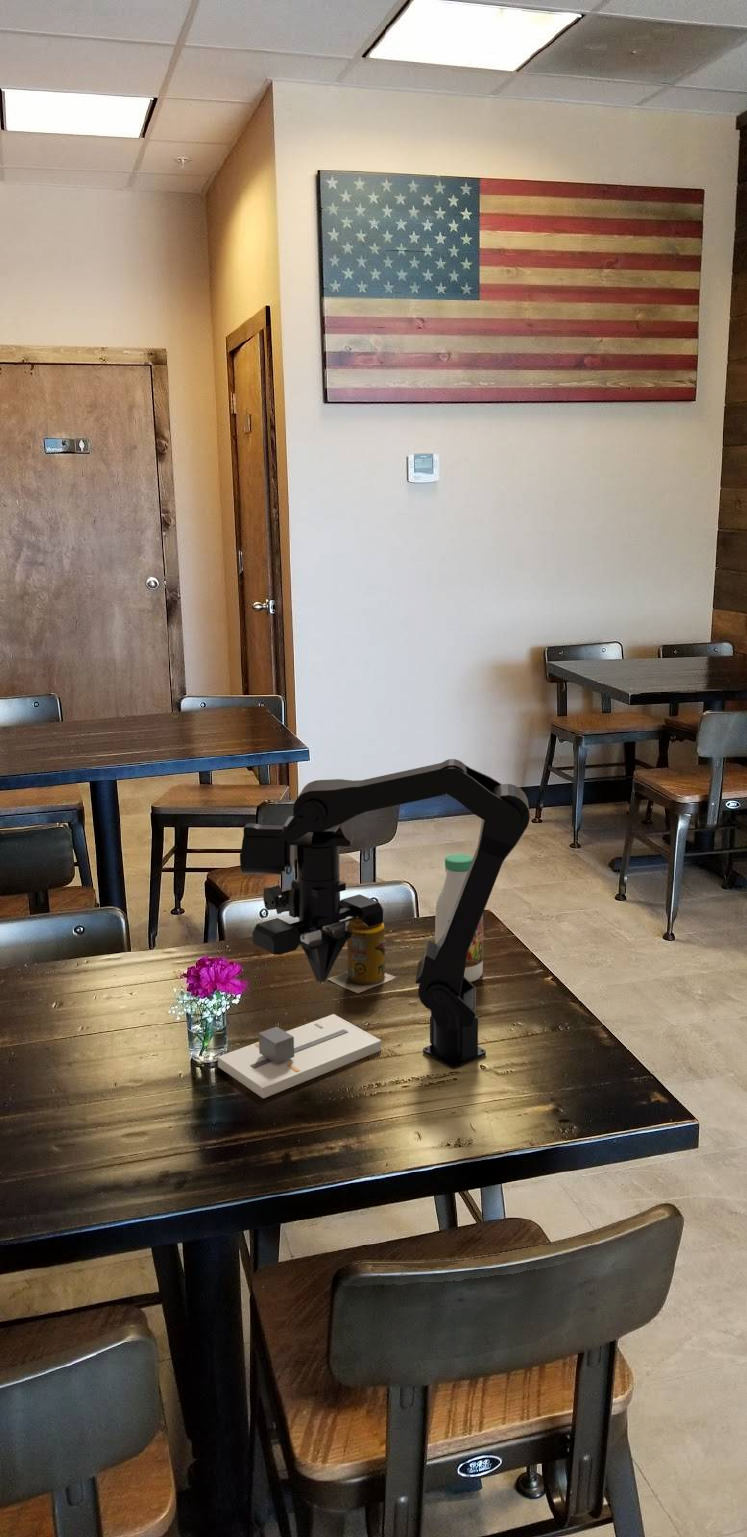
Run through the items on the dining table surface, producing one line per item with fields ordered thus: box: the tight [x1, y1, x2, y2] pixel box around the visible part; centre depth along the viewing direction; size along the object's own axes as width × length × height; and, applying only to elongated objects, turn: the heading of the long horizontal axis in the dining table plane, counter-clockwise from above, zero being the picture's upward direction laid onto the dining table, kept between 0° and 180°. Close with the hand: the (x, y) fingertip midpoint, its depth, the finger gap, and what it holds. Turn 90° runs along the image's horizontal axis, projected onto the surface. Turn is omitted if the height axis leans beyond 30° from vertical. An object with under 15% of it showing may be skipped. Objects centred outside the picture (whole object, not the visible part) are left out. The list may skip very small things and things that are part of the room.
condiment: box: [327, 917, 397, 994], centre depth 181 cm, size 7×8×12 cm
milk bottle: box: [434, 853, 484, 983], centre depth 181 cm, size 8×8×20 cm
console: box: [217, 1013, 382, 1099], centre depth 157 cm, size 11×20×2 cm, turn 129°
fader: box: [258, 1026, 294, 1064], centre depth 153 cm, size 4×3×3 cm
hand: (320, 981), depth 157 cm, fingers closed
